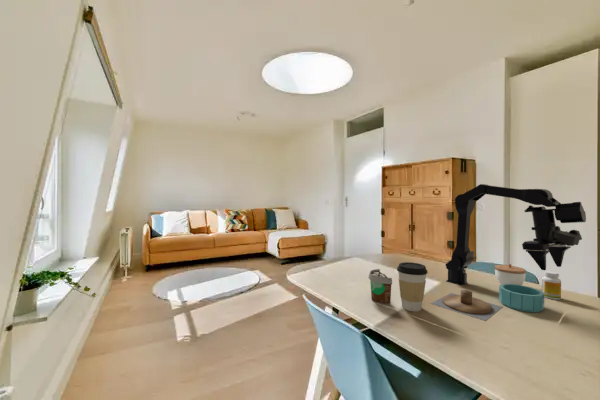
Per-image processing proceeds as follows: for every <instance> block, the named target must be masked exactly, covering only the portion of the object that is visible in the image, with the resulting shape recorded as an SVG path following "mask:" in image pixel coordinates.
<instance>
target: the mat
mask: <svg viewBox="0 0 600 400" xmlns="http://www.w3.org/2000/svg"><path fill="white" fill-rule="evenodd" d="M448 295H459V294H458V293H454V292H450V293H448V294H445V296H448ZM443 297H444V296H442V297H440V298H438V299H437V300H434V301H433V302H431V303H430V304H431V305H434V306H436V307H437V306H438V307H440V308H443V309H447V310H448V311H449V310H450V311H453V312H456V313H459V314H462V315H465V316H468V317H471V318H475V319H478V320H480V321H484V322H486V321H487V320H490V318H491V317H492V316H494V315H495V314H496V313H497V312H498V311H500V310H501V309H503V306H501V305H498V304H495V303H491V302H488V303H489V304H490V305H491V306H492V312H491V313H489V314H470V313H464V312H460V311H457V310H454V309H451V308H449V307H447V306H446V305H445V304H443V302H442V298H443Z"/></svg>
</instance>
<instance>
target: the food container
mask: <svg viewBox="0 0 600 400" xmlns="http://www.w3.org/2000/svg"><path fill="white" fill-rule="evenodd" d="M368 279H369V280H370V294H371V295H370V296H371V297H370V298H371V300H372V301H373V302H375V303H377V304H379V305H382V304H385V305H387V304H388V305H390V304H391V298H392V297H391V296H392V285H393V278H392V277H388V276H387V275H386V274H385V273H382V272H381V269H380V268H375V269H372V270H370V272H369V273H368Z"/></svg>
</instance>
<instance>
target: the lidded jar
mask: <svg viewBox="0 0 600 400" xmlns="http://www.w3.org/2000/svg"><path fill="white" fill-rule="evenodd" d="M494 273H495V274H494V275H495V278H496V280H497V281H498V283H500V285H501V284H517V285H524V283H525V280H526V274H527V270H526V269H525V268H523V267H519V266H516V265H512V263H508V264H496V265H494Z"/></svg>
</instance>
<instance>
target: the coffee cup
mask: <svg viewBox="0 0 600 400" xmlns="http://www.w3.org/2000/svg"><path fill="white" fill-rule="evenodd" d="M396 271H397V272H398V286H399V287H398V288H399V294H400V295H399V296H400V302H401V307H402V308H403V309H404V310H405V311H410V312H420V311H422V308H423V302H424V297H425V288H426V282H427V281H426V278H427V275H428V273H429V272H428V269H427V267H426V266H425V265H424V264H422V263H418V262H412V261H411V262H409V261H408V262H407V261H405V262H400V263H399V264H398V266H397V268H396Z"/></svg>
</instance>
